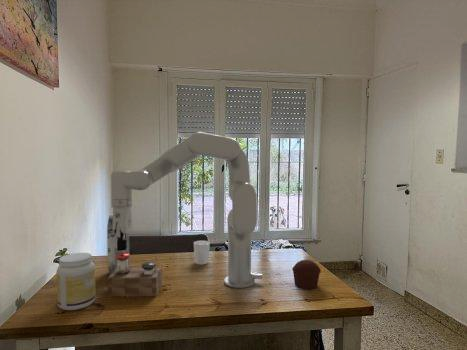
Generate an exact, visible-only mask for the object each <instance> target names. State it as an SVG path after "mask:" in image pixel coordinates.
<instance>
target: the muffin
mask: <svg viewBox="0 0 467 350" xmlns="http://www.w3.org/2000/svg"><path fill="white" fill-rule="evenodd" d="M321 272H322V269H321V268H320V267H319V265H318V264H317V263H316V262H314V261H313V260H309V259H302V260H300V261H298V262H296V263H295V264H294V266H293V267H292V273H293V274H292V275H293V280H294V285H295V286H296V288H297V289H302V290H308V291H311V290H315V289H317V287H318V284H319V278H320V274H321Z"/></svg>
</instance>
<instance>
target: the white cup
mask: <svg viewBox="0 0 467 350" xmlns="http://www.w3.org/2000/svg"><path fill="white" fill-rule="evenodd" d="M210 244H211V242H210V241H208V240H196V241H193V253H194V254H193V255H194V263H195V264H196V265H201V266H202V265H206V264H207V265H208V264H209V261H210V260H209V259H210V250H211V249H210V247H211V246H210Z"/></svg>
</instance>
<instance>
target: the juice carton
mask: <svg viewBox="0 0 467 350" xmlns="http://www.w3.org/2000/svg"><path fill="white" fill-rule="evenodd" d="M106 231H107V270H108V274H109V275H108V276H110V275H111V274H112V273H113V272H114V270H115V269H116V268H117V259H116V254H118V253H122V252H127V253H130V231H128V232H127V249H126V250H117V238H116V234H114V233H113V213H111V214H109V215H108V221H107V229H106ZM128 267H130V257H129V258H128Z"/></svg>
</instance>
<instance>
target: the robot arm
mask: <svg viewBox="0 0 467 350" xmlns="http://www.w3.org/2000/svg"><path fill="white" fill-rule="evenodd" d="M200 156H205V157H210V158H215V159H221V160H224V161H225V162H226V164H227V168H228V197H229V199H230V200H231V202H232V203H231V204H232V206H231V208H232V209H230V211H229V213H228V214H227V220H226V221H227V236H228V237H227V238H228V241H227V243H228V246H227V248H228V249H227V276H225V278H224V280H223V281H224V284H225V285H226V286H227V287H230V288H234V289H245V288H249V287H252V286H253V285H254V284H255V281H256V280H257V279H258V280H263V274H262V273H259V272H253V271H252V233H253V232H254V231H255V229H256V226H257V222H258V206H257V205H258V200H257V198H258V196H257V192H256V189H255V187H254V186H253V185H252V184H251V177H250V176H251V173H250V164H249V160H248V157H247V155H246V153H245V151H244V150H243V149H242V147H241V146H240V144H239V142H238V140H236V139H235V138H232V137H228V136H223V135H218V134H211V133H207V132H204V131H203V132H202V131H198V132H197V131H196V132H194V133H192V134H191V135H190V136H188V137H187V138H185V139H184V140H182V141H181V142H179V143H178V144H176V145H174V146H172V147H170V149H168V150H166V151H165V152H163V153H162V155H160V156H159V157H158V158H157V159H156V160H154V161H152V162H151V163H149V164H148V165H146V166H145V167H143V168H141V169H139V170H137V171H136V170H135V171H129V170H114V171H112V172H111V173H110V192H111V193H110V195H111V196H110V199H111V201H110V204H111V208H113V209H112V214H113V233H114V234H116V238H117V250H126V249H127V232H128V231H129V232H130V231H131V230H132V229H133V222H132V221H133V217H132V209H131V207H133V196H132V195H133V194H132V193H133V191H134V190H135V191H145V190H147V189H148V188H150V187H151V186H152V185H153V184H155V183H156V182H158V181H159V180H161V179H163V178H164V177H166V176H167V175H169V174H171V173H174V172H177V171H178V170H180V169H181V168H183V167H185V166H186V165H187V164H189V163H191V162H193V161H194V160H196V159H197V158H199V157H200Z"/></svg>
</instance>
